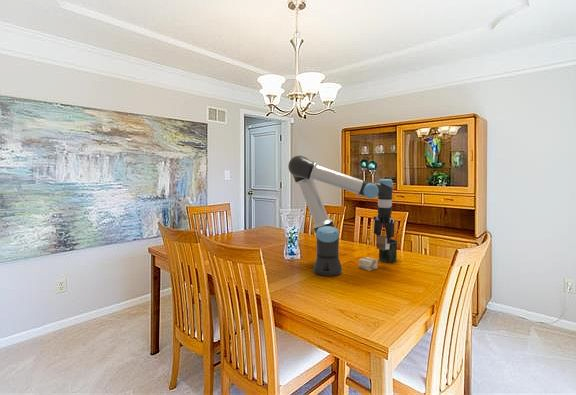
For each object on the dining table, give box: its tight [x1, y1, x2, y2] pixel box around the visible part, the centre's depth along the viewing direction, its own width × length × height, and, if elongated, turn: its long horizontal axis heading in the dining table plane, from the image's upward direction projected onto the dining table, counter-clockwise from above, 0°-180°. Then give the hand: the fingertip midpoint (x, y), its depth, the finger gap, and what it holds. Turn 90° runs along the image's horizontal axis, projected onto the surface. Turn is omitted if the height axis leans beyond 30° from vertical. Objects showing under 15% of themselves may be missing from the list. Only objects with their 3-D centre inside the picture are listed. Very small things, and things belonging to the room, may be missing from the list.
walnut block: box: [376, 234, 390, 250], centre depth 180 cm, size 5×5×7 cm
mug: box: [378, 238, 398, 263], centre depth 193 cm, size 11×15×12 cm
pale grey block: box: [358, 256, 379, 271], centre depth 178 cm, size 7×7×5 cm
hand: (383, 248), depth 181 cm, fingers closed on walnut block, 5 cm apart
